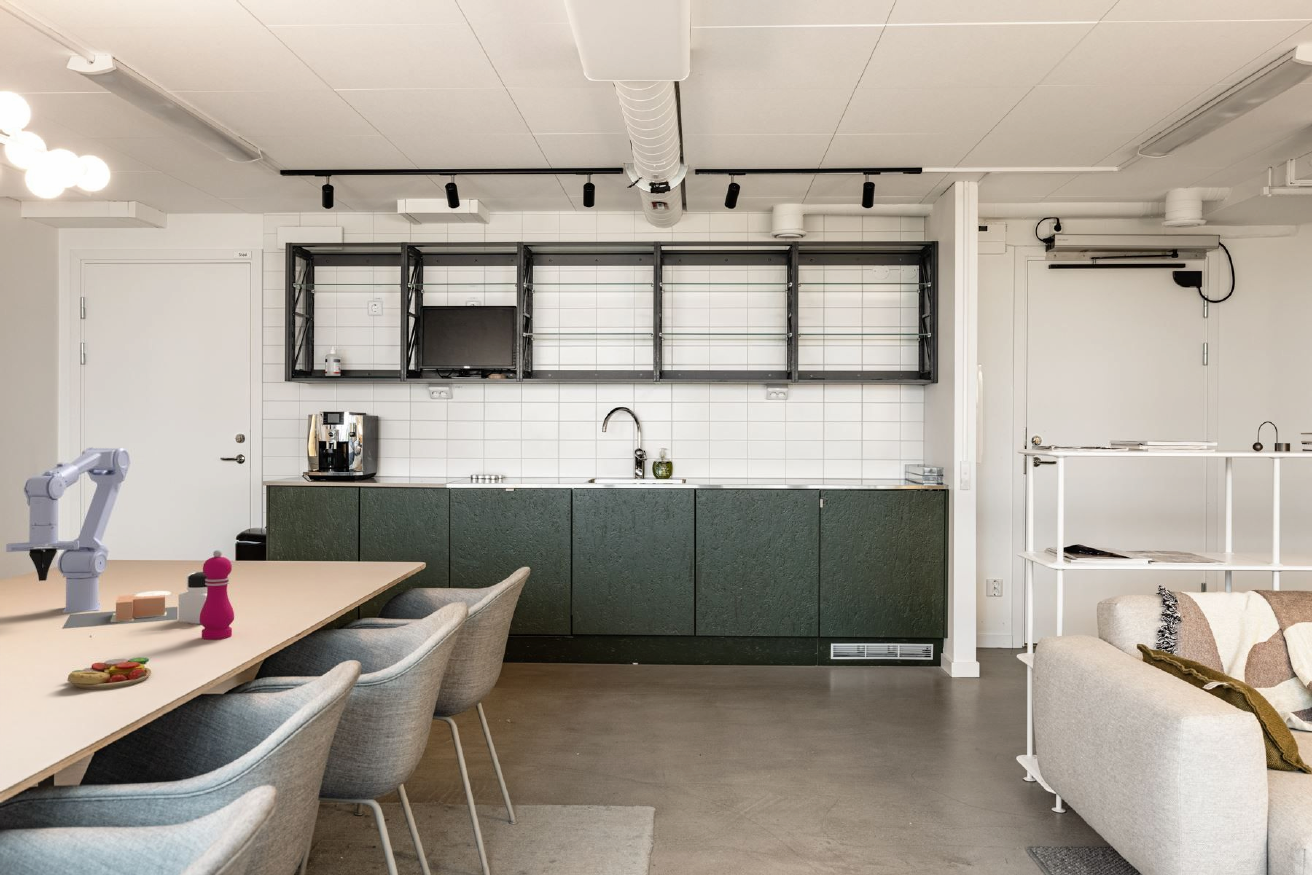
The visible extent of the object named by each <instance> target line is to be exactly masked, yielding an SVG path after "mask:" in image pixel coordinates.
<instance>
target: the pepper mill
mask: <svg viewBox="0 0 1312 875" xmlns="http://www.w3.org/2000/svg"><path fill="white" fill-rule="evenodd" d="M212 554H213V557H210V558H207V560H205V562H204V563H203V565H202V572H203V573H204V574H205V575H206V577H207V578H206V579H205V581H206V583H205V585H207V597H206V601H205V603H204V605H203V608H202V610H201V613H200V619H199V621H200V623H201V624H200V625H201V626H202V627H203V629H202V630H201V639H203V640H208V641H212V640H213V641H217V640H224V639H227V638H230V637H232V634H233V629H232V627H231V626H230V625H232V623H233V622H234V621H235V610H234V609H233V606H232V604H231V602H230V599H229V595H228V585H229V584H230V577H228V576H229V575H230V574H231V573H232V570H233V569H232V568H233V566H232V565H233V564H232V562H231V561H230V559H228V558H227V557H225V556H222V554H223V553H222V551H221V550H220V549H216V550H214V551H213V553H212Z"/></svg>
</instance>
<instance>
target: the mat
mask: <svg viewBox="0 0 1312 875" xmlns="http://www.w3.org/2000/svg"><path fill="white" fill-rule="evenodd" d="M178 610H179V606H169V607H165V615H158V616H145V617H133V619H132V620H124V621H116V610H114V611H101V612H98V611H97V612H87V613H85V612H84V613H73V614H71V613H70V614H69V616H68V618H67V619H66V621H65V623H64V624H63V626H62V628H61V629H62V630H63V629H75V628H86V627H87V628H88V627H99V626H102V627H103V626H112V625H113V626H114V625H125V624H137V623H139V624H141V623H151V622H163V621H178Z"/></svg>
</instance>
